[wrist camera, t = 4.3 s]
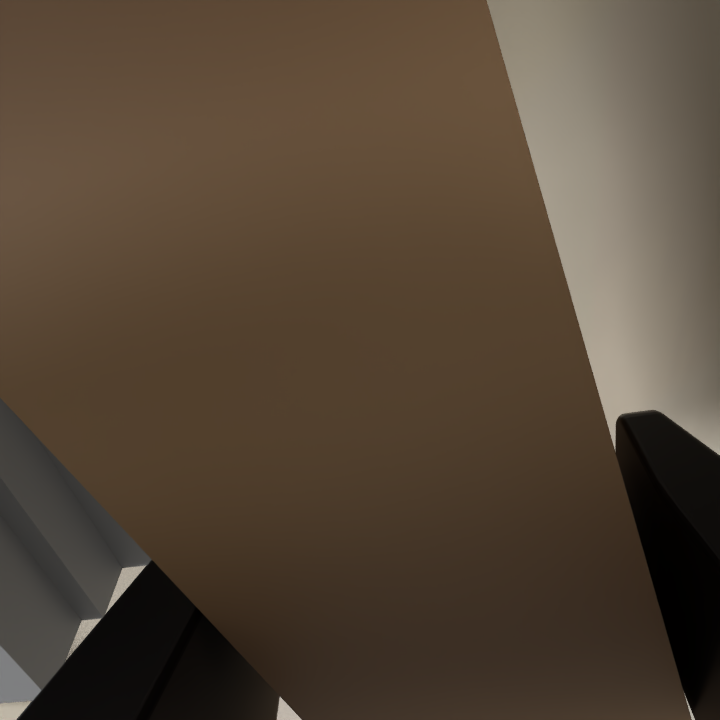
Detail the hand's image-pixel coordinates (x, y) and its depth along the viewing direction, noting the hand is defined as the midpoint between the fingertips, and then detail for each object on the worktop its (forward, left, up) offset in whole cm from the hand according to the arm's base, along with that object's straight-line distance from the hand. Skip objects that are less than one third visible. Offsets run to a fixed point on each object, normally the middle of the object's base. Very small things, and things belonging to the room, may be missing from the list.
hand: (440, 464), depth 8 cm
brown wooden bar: (0, 0, -1) cm, 1 cm away
